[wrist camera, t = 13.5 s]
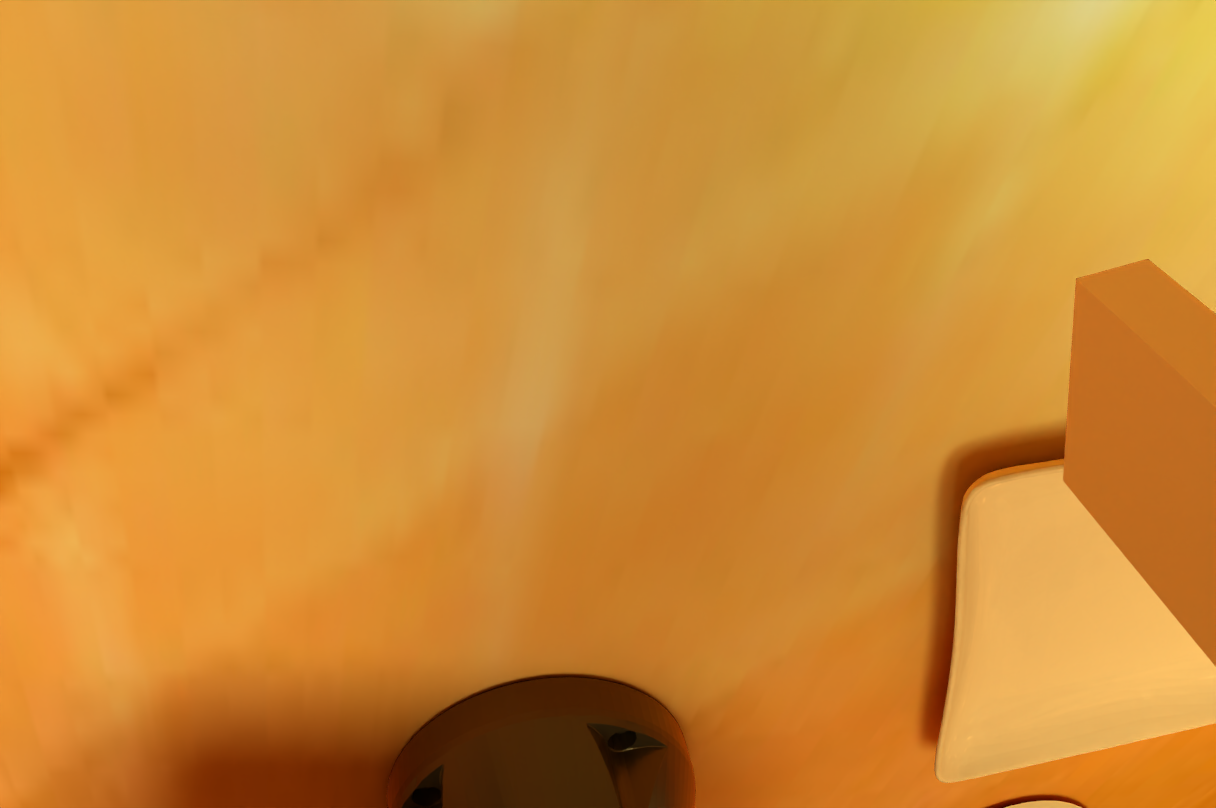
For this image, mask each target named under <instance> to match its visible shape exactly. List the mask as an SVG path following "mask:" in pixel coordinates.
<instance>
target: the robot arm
mask: <svg viewBox="0 0 1216 808" xmlns="http://www.w3.org/2000/svg"><path fill="white" fill-rule="evenodd" d="M1063 481H1064V483H1065V484H1066V485H1067V486H1068V487H1069V489H1070V490H1071V491H1072V492H1073V494H1074V495H1075V496H1076V497H1077V498H1078V500H1079V501H1080V502H1081V503H1082V505H1083V506H1084V507H1085V508H1086V509H1087V511H1088V512H1089V513H1090V514H1091V516H1092V517H1093V518H1094V519H1095V520H1096V522H1097V523H1098V524H1099V525H1100V526H1101V528H1102V529H1103V530H1104V531H1105V533H1106V534H1107V535H1108V536H1109V537H1110V539H1111V540H1112V541H1113V542H1114V544H1115V545H1116V546H1117V547H1118V548H1119V550H1120V551H1121V552H1122V553H1123V555H1124V556H1125V557H1126V558H1127V559H1128V561H1129V562H1130V563H1131V564H1132V565H1133V567H1134V568H1135V569H1136V570H1137V572H1138V573H1139V574H1140V575H1141V576H1142V578H1143V579H1144V580H1145V581H1146V583H1147V584H1148V585H1149V586H1150V587H1151V589H1152V590H1153V591H1154V592H1155V594H1156V595H1157V596H1158V597H1159V598H1160V600H1161V601H1162V602H1163V603H1164V604H1165V606H1166V607H1167V608H1168V609H1169V611H1170V612H1171V613H1172V614H1173V615H1174V617H1175V618H1176V619H1177V620H1178V622H1179V623H1180V624H1181V625H1182V626H1183V628H1184V629H1185V630H1186V631H1187V633H1188V634H1189V635H1190V636H1191V637H1192V639H1193V640H1194V641H1195V642H1196V643H1197V645H1198V646H1199V647H1200V648H1201V650H1202V651H1203V652H1204V653H1205V654H1206V656H1207V657H1208V658H1209V659H1210V661H1211V662H1212V663H1213V664H1214V665H1215V667H1216V314H1215V313H1214V312H1213V311H1211V310H1210V309H1209V308H1208V307H1206V306H1205V305H1204V304H1203V303H1201V302H1200V301H1199V300H1198V299H1197V298H1195V297H1194V296H1193V295H1192V294H1190V293H1189V292H1188V291H1187V290H1185V289H1184V288H1183V287H1182V286H1181V285H1179V284H1178V283H1177V282H1176V281H1174V280H1173V279H1172V278H1171V277H1169V276H1168V275H1167V274H1166V273H1165V272H1163V271H1162V270H1161V269H1160V268H1158V267H1157V266H1156V265H1155V264H1154V263H1152V262H1151V261H1150V260H1149V259H1146V260H1142V261H1139V262H1135V263H1131V264H1128V265H1124V266H1120V267H1117V268H1113V269H1109V270H1106V271H1102V272H1099V273H1095V274H1091V275H1088V276H1084V277H1080V278H1077V279H1076V288H1075V303H1074V318H1073V334H1072V349H1071V364H1070V379H1069V394H1068V410H1067V425H1066V440H1065V455H1064V471H1063ZM695 792H696V789H695V777H694V771H693V767H692V763H691V760H690V757H689V753H688V750H687V747H686V743H685V740H684V737H683V734H682V731H681V729H680V727H679V725H678V724H677V722H676V720H675V719H674V718H673V716H672V715H671V714H670V713H669V712H668V711H667V710H666V709H665V708H664V707H663V706H662V705H661V704H659V703H658V702H657V701H655V700H654V699H652V698H651V697H649V696H647V695H646V694H644V693H641V692H639V691H637V690H635V689H632V688H630V687H627V686H624V685H621V684H617V683H613V682H609V681H604V680H598V679H590V678H576V677H561V678H546V679H537V680H531V681H525V682H520V683H515V684H511V685H507V686H503V687H500V688H497V689H494V690H491V691H488V692H485V693H482V694H480V695H477V696H475V697H473V698H470V699H468V700H466V701H464V702H462V703H460V704H458V705H456V706H454V707H453V708H451V709H449V710H447V711H446V712H444V713H443V714H441V715H440V716H438V717H437V718H435V719H434V720H433V721H431V722H430V723H429V724H428V725H426V726H425V727H424V728H423V729H422V730H421V731H420V732H418V733H417V734H416V735H415V736H414V737H413V739H412V740H411V741H410V742H409V743H408V744H407V746H406V747H405V748H404V749H403V751H402V752H401V754H400V755H399V757H398V759H397V761H396V762H395V764H394V766H393V769H392V771H391V774H390V778H389V781H388V787H387V808H695Z"/></svg>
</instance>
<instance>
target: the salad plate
mask: <svg viewBox="0 0 1216 808" xmlns="http://www.w3.org/2000/svg"><path fill="white" fill-rule="evenodd" d="M1063 471H1064V459H1059V460H1052V461H1046V462H1039V463H1033V464H1026V465H1020V466H1014V467H1009V468H1004V469H1000V470H996V471H993V472H990V473H988V474H985V475H984V476H982V477H980V478H979V479H978V480H976V481H975V482H974V483H973V484H972V485H971V486H970V487H969V488H968V489H967V491H966V493H965V495H964V497H963V501H962V505H961V515H960V523H959V532H958V548H957V575H956V605H955V624H954V639H953V649H952V659H951V667H950V674H949V681H948V687H947V693H946V699H945V705H944V711H943V716H942V722H941V727H940V733H939V738H938V743H937V748H936V755H935V775H936V777H937V779H938V780H939V781H941V782H944V783H952V782H959V781H964V780H968V779H974V778H979V777H983V776H987V775H992V774H996V773H1000V772H1005V771H1009V770H1014V769H1018V768H1023V767H1027V766H1032V765H1036V764H1041V763H1045V762H1049V761H1053V760H1058V759H1062V758H1066V757H1071V756H1075V755H1080V754H1084V753H1089V752H1093V751H1098V750H1103V749H1107V748H1111V747H1115V746H1120V745H1124V744H1129V743H1133V742H1136V741H1141V740H1145V739H1150V738H1155V737H1159V736H1163V735H1167V734H1171V733H1176V732H1180V731H1185V730H1189V729H1193V728H1198V727H1202V726H1206V725H1210V724H1214V723H1216V667H1215V665H1214V664H1213V663H1212V662H1211V661H1210V659H1209V658H1208V657H1207V656H1206V654H1205V653H1204V652H1203V651H1202V650H1201V648H1200V647H1199V646H1198V645H1197V643H1196V642H1195V641H1194V640H1193V639H1192V637H1191V636H1190V635H1189V634H1188V633H1187V631H1186V630H1185V629H1184V628H1183V626H1182V625H1181V624H1180V623H1179V622H1178V620H1177V619H1176V618H1175V617H1174V615H1173V614H1172V613H1171V612H1170V611H1169V609H1168V608H1167V607H1166V606H1165V604H1164V603H1163V602H1162V601H1161V600H1160V598H1159V597H1158V596H1157V595H1156V594H1155V592H1154V591H1153V590H1152V589H1151V587H1150V586H1149V585H1148V584H1147V583H1146V581H1145V580H1144V579H1143V578H1142V576H1141V575H1140V574H1139V573H1138V572H1137V570H1136V569H1135V568H1134V567H1133V565H1132V564H1131V563H1130V562H1129V561H1128V559H1127V558H1126V557H1125V556H1124V555H1123V553H1122V552H1121V551H1120V550H1119V548H1118V547H1117V546H1116V545H1115V544H1114V542H1113V541H1112V540H1111V539H1110V537H1109V536H1108V535H1107V534H1106V533H1105V531H1104V530H1103V529H1102V528H1101V526H1100V525H1099V524H1098V523H1097V522H1096V520H1095V519H1094V518H1093V517H1092V516H1091V514H1090V513H1089V512H1088V511H1087V509H1086V508H1085V507H1084V506H1083V505H1082V503H1081V502H1080V501H1079V500H1078V498H1077V497H1076V496H1075V495H1074V494H1073V492H1072V491H1071V490H1070V489H1069V487H1068V486H1067V485H1066V484H1065V483H1064V481H1063Z"/></svg>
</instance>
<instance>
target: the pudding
mask: <svg viewBox="0 0 1216 808" xmlns="http://www.w3.org/2000/svg"><path fill="white" fill-rule="evenodd" d="M1005 808H1081V807H1079V806H1077V805H1074V804H1071V803H1067V802H1061V801H1034V802H1026V803H1021V804H1017V805H1012V806H1008V807H1005Z"/></svg>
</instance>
